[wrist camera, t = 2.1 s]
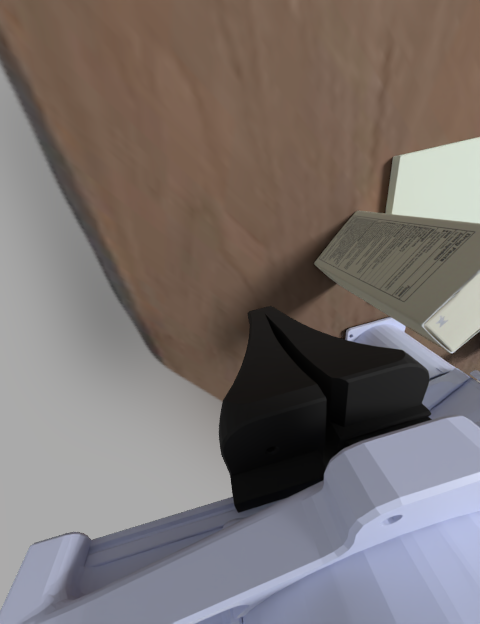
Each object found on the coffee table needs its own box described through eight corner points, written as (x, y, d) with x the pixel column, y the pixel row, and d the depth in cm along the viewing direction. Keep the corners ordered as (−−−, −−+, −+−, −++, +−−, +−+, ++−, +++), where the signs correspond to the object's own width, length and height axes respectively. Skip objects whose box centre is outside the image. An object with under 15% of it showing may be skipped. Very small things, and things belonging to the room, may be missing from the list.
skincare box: (337, 284, 24) (448, 360, 14) (311, 262, 22) (415, 330, 12) (384, 233, 22) (554, 276, 12) (359, 205, 20) (535, 226, 10)
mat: (475, 272, 27) (483, 274, 26) (373, 300, 26) (378, 303, 25) (531, 124, 20) (543, 122, 19) (393, 156, 19) (400, 155, 18)
